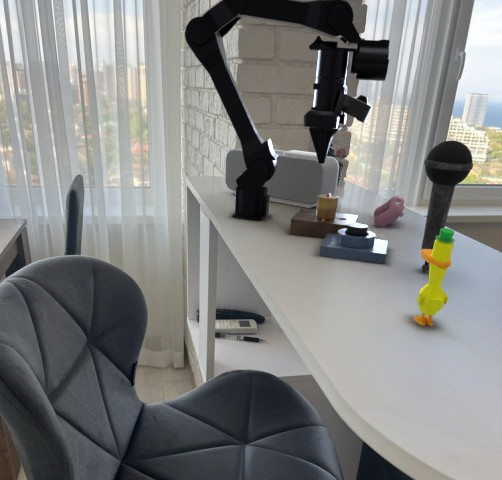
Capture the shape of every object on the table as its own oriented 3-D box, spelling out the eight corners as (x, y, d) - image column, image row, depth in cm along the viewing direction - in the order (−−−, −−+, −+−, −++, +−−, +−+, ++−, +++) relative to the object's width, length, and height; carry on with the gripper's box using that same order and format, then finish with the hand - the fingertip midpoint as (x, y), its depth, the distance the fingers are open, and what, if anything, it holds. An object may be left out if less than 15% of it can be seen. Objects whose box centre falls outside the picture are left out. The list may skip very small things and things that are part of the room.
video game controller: (390, 235, 107) (410, 207, 104) (372, 224, 107) (392, 195, 104) (388, 224, 116) (407, 198, 113) (371, 214, 116) (390, 187, 113)
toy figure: (398, 311, 66) (416, 220, 61) (424, 310, 67) (444, 220, 62) (421, 333, 60) (443, 235, 55) (449, 333, 61) (474, 235, 56)
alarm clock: (335, 204, 126) (341, 154, 121) (318, 210, 119) (324, 157, 114) (243, 188, 139) (245, 143, 134) (224, 193, 132) (225, 145, 127)
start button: (344, 236, 87) (346, 226, 86) (346, 231, 90) (348, 221, 89) (366, 239, 86) (367, 229, 85) (367, 234, 89) (368, 224, 89)
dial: (334, 219, 98) (337, 197, 96) (314, 217, 99) (316, 195, 97) (336, 215, 102) (339, 193, 100) (317, 213, 102) (319, 191, 100)
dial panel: (289, 234, 98) (291, 218, 97) (299, 222, 107) (300, 207, 106) (351, 241, 96) (353, 225, 94) (355, 229, 105) (358, 214, 103)
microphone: (424, 281, 78) (455, 143, 69) (394, 267, 83) (418, 137, 74) (456, 276, 81) (489, 143, 72) (425, 263, 86) (452, 137, 77)
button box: (319, 255, 87) (321, 235, 85) (326, 242, 95) (328, 223, 93) (384, 263, 84) (388, 243, 83) (386, 249, 92) (389, 230, 91)
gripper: (370, 79, 87) (357, 173, 94) (375, 81, 103) (364, 161, 110) (306, 76, 89) (298, 167, 96) (321, 78, 106) (313, 157, 113)
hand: (321, 163), depth 104 cm, fingers closed
